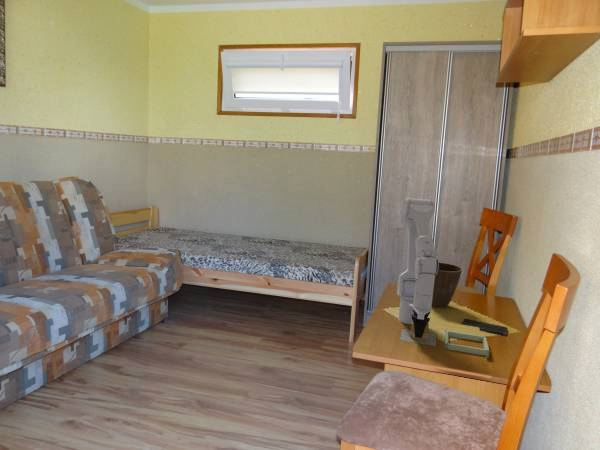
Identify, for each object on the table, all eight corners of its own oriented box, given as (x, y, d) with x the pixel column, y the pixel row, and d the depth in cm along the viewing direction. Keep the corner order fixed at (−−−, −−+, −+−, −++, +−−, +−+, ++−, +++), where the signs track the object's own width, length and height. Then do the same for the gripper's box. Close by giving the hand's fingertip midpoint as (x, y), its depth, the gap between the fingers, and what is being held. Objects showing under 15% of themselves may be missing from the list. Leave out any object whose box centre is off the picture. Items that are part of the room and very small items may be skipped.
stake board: (402, 331, 166) (403, 316, 165) (435, 336, 163) (437, 321, 162) (399, 342, 155) (401, 326, 154) (435, 348, 152) (437, 332, 151)
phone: (505, 333, 168) (460, 324, 175) (505, 337, 168) (460, 327, 175) (508, 327, 175) (464, 318, 182) (507, 330, 175) (464, 321, 182)
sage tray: (444, 337, 163) (445, 330, 162) (484, 343, 160) (485, 336, 159) (444, 351, 151) (445, 343, 150) (488, 358, 148) (489, 350, 147)
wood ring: (410, 332, 162) (411, 319, 161) (427, 335, 161) (428, 322, 160) (409, 338, 157) (411, 324, 156) (426, 341, 155) (428, 327, 155)
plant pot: (459, 313, 190) (465, 272, 188) (420, 308, 192) (425, 268, 190) (454, 302, 205) (458, 264, 202) (417, 297, 207) (421, 260, 204)
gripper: (411, 286, 165) (407, 324, 167) (409, 297, 151) (404, 339, 153) (433, 289, 163) (429, 328, 165) (433, 300, 149) (428, 343, 151)
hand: (418, 334), depth 159 cm, fingers closed on wood ring, 5 cm apart
